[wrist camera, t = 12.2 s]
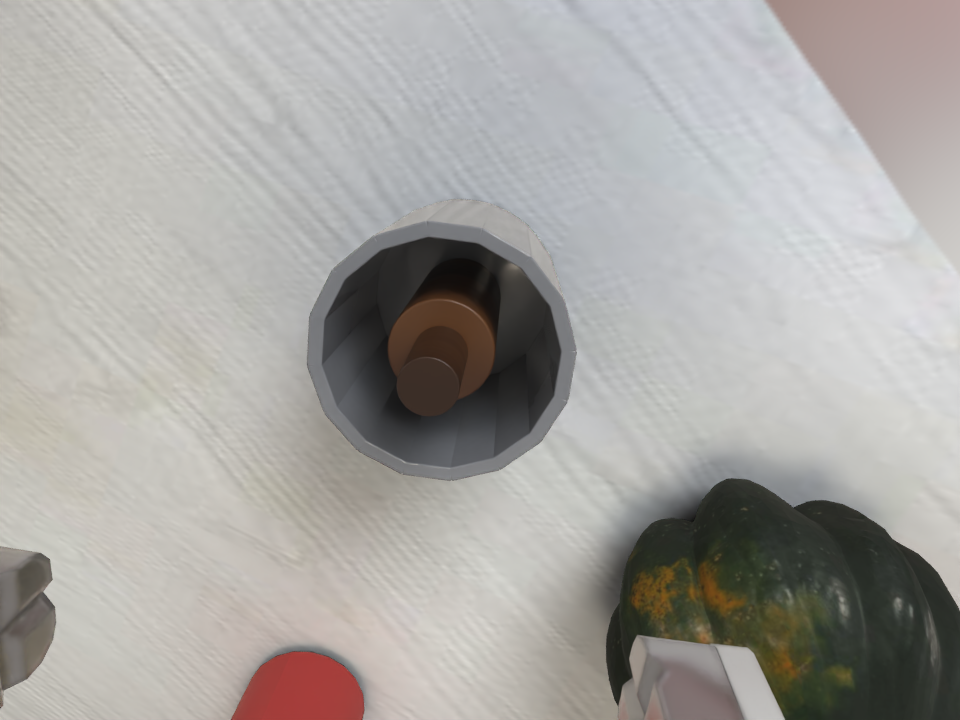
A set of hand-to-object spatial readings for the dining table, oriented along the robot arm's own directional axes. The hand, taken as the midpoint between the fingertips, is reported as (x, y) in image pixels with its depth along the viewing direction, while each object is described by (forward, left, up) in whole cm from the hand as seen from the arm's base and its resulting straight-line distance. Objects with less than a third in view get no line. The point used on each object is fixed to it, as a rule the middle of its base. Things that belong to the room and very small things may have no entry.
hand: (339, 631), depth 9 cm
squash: (+13, +16, -23) cm, 31 cm away
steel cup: (0, 0, -23) cm, 23 cm away
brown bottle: (0, 0, -22) cm, 22 cm away
